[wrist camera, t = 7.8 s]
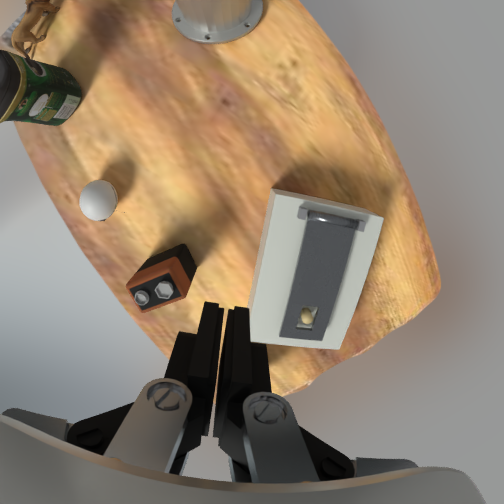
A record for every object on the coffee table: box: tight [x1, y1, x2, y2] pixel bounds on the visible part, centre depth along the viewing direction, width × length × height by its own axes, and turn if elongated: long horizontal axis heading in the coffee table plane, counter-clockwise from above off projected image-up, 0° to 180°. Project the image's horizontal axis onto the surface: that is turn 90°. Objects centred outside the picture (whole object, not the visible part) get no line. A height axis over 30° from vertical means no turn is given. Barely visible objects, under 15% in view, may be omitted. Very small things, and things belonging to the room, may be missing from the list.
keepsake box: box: [247, 188, 384, 349], centre depth 37 cm, size 20×14×8 cm
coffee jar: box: [0, 50, 82, 126], centre depth 22 cm, size 10×8×19 cm
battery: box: [126, 244, 197, 313], centre depth 36 cm, size 4×7×10 cm, turn 112°
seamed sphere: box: [80, 180, 125, 221], centre depth 35 cm, size 8×6×6 cm
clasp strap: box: [279, 209, 358, 341], centre depth 34 cm, size 17×6×1 cm, turn 170°
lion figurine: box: [11, 0, 60, 59], centre depth 21 cm, size 15×5×9 cm, turn 168°
